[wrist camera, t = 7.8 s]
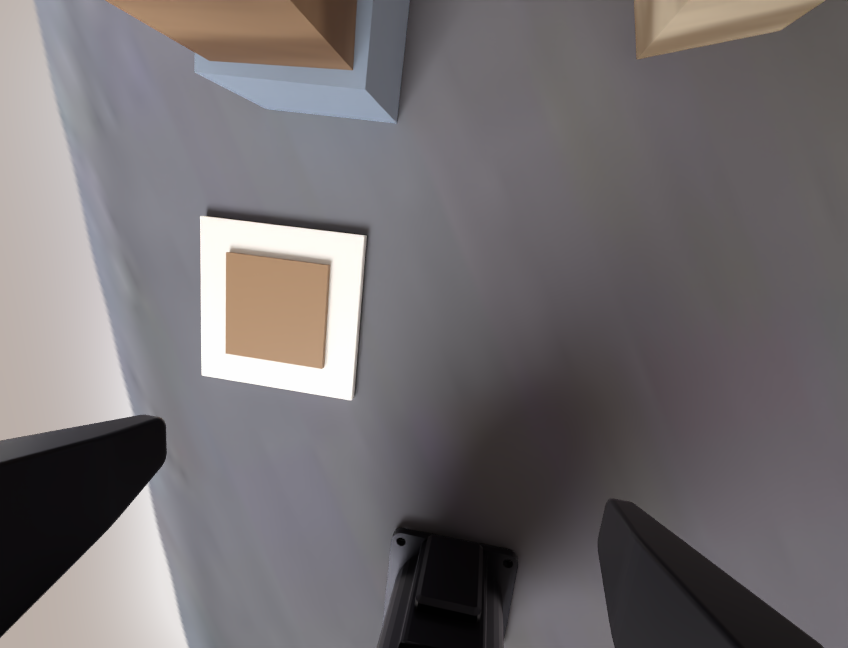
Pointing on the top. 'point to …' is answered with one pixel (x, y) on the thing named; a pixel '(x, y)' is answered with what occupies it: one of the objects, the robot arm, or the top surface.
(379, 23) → the base block
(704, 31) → the maple block
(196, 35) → the walnut block
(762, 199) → the top surface
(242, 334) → the swatch
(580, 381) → the top surface
